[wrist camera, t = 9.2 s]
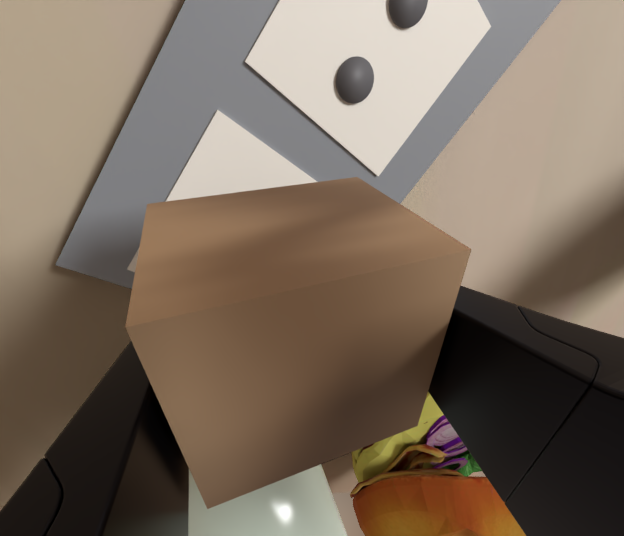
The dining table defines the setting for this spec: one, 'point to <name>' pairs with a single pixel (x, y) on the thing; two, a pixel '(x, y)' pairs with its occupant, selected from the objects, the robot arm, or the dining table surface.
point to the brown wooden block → (289, 325)
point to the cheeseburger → (426, 485)
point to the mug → (271, 510)
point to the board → (295, 105)
